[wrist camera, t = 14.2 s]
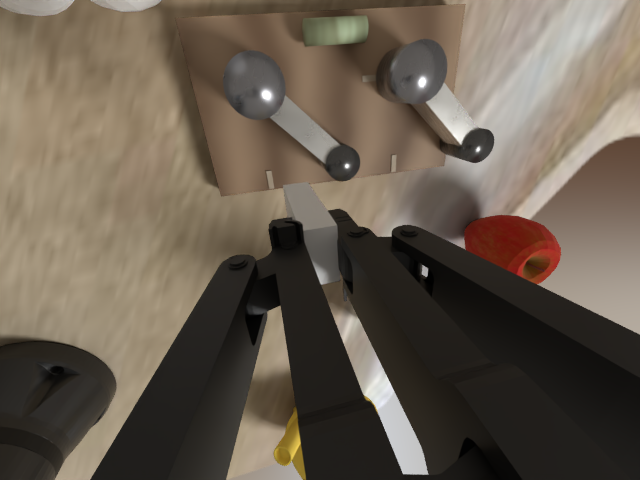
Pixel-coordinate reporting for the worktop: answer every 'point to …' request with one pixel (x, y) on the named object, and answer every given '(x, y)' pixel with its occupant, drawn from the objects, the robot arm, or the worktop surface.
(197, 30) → the levelling board
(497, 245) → the apple
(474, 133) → the knob
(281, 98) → the knob
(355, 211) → the worktop surface
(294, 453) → the teapot
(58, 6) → the mug
